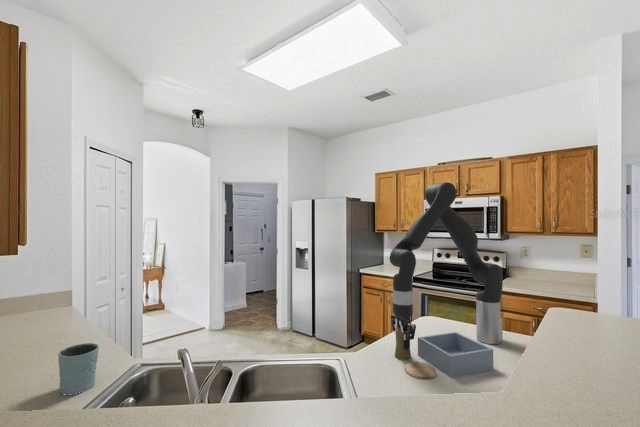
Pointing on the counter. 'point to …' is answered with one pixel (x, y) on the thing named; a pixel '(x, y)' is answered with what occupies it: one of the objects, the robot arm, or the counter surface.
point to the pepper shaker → (401, 346)
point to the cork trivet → (420, 370)
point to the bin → (455, 354)
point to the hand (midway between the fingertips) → (402, 346)
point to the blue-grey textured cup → (77, 368)
